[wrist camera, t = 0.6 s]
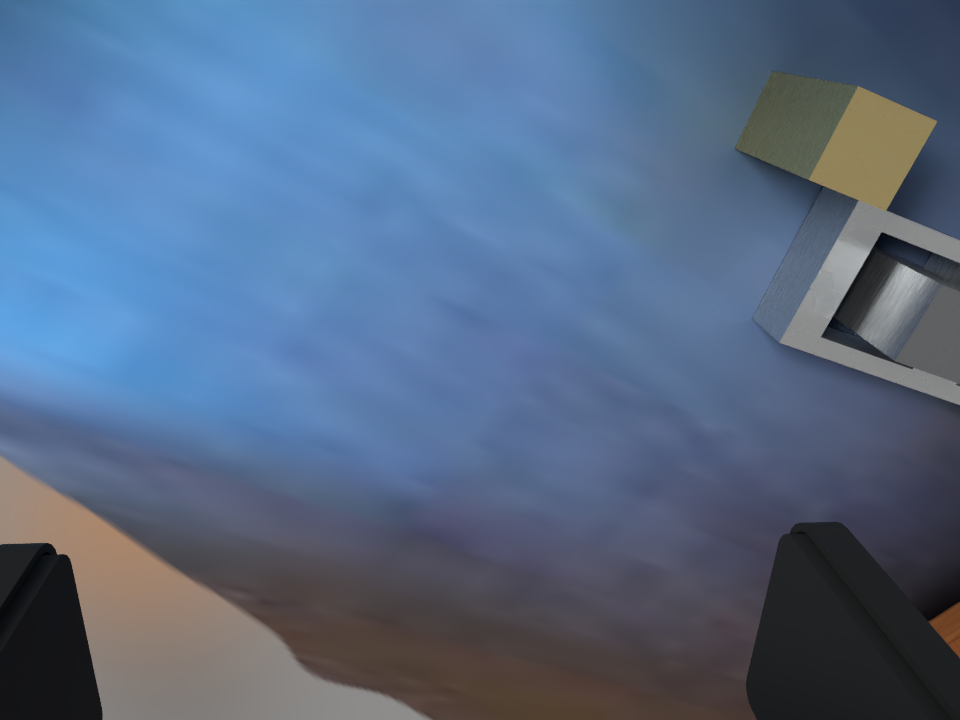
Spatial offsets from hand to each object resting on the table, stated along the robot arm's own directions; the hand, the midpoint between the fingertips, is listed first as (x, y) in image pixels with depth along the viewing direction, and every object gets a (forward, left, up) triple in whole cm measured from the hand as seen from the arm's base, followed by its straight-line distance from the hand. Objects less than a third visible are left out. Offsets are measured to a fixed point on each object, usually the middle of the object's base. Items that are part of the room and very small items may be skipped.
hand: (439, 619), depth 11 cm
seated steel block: (-3, +26, -32) cm, 41 cm away
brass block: (-9, +17, -32) cm, 37 cm away
